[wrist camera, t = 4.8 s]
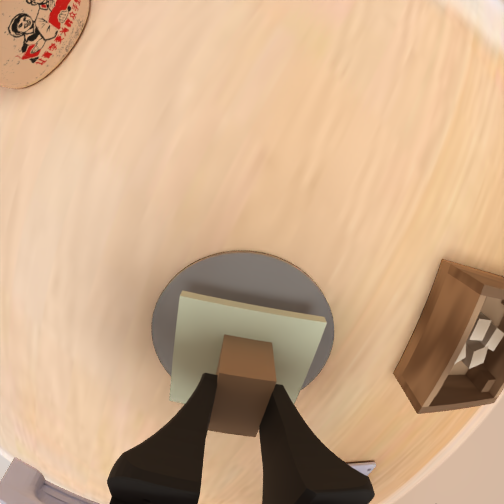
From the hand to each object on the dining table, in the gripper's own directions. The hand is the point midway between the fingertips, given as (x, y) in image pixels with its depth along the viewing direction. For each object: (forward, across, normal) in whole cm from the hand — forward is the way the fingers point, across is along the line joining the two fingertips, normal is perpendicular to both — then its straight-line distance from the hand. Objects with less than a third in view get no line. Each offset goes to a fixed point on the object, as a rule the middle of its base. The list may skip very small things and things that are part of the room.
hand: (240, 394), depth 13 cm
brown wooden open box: (+5, -16, -3) cm, 17 cm away
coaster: (+5, 0, 0) cm, 5 cm away
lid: (+3, 0, 0) cm, 3 cm away
